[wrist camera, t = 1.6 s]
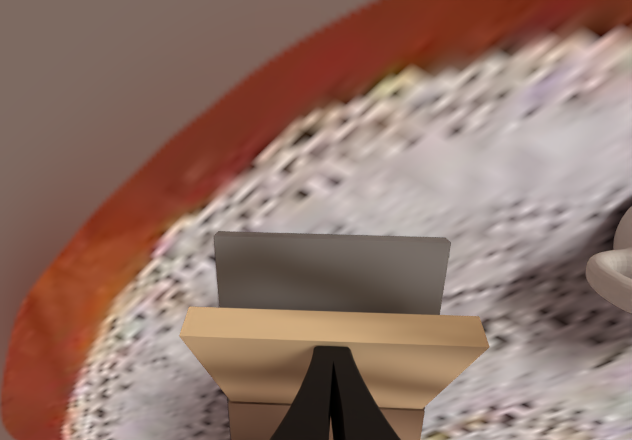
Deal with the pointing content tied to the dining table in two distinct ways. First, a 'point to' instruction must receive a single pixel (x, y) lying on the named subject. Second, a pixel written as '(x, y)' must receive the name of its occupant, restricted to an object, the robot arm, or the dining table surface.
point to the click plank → (332, 330)
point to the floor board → (327, 294)
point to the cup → (614, 267)
